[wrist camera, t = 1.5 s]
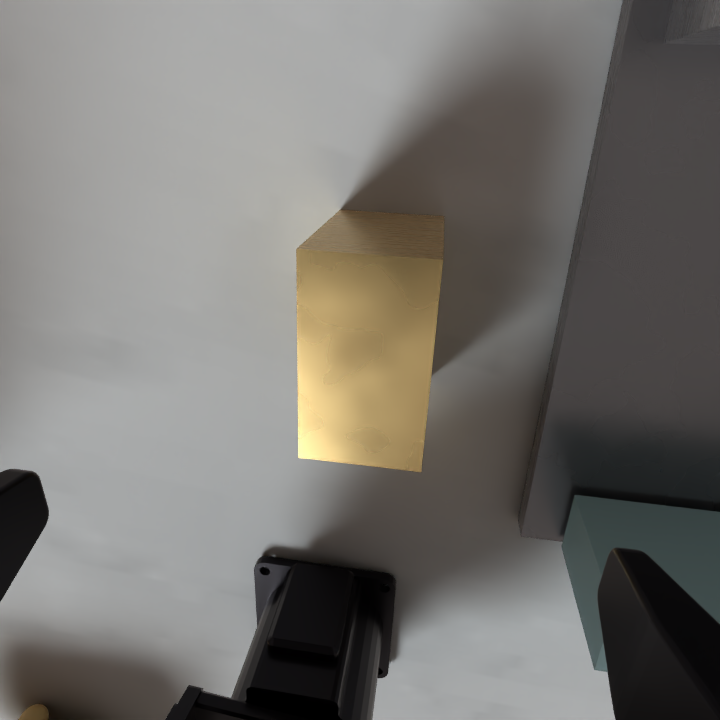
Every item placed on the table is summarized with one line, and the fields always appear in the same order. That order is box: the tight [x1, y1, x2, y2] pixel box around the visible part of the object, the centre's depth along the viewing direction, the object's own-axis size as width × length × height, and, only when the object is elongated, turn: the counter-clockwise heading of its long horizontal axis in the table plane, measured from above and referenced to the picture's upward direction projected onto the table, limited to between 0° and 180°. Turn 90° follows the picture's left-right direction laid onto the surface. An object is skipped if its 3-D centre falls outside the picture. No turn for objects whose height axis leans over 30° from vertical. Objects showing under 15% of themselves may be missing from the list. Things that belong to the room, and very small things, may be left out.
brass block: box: [296, 210, 444, 472], centre depth 17 cm, size 4×6×6 cm, turn 178°
